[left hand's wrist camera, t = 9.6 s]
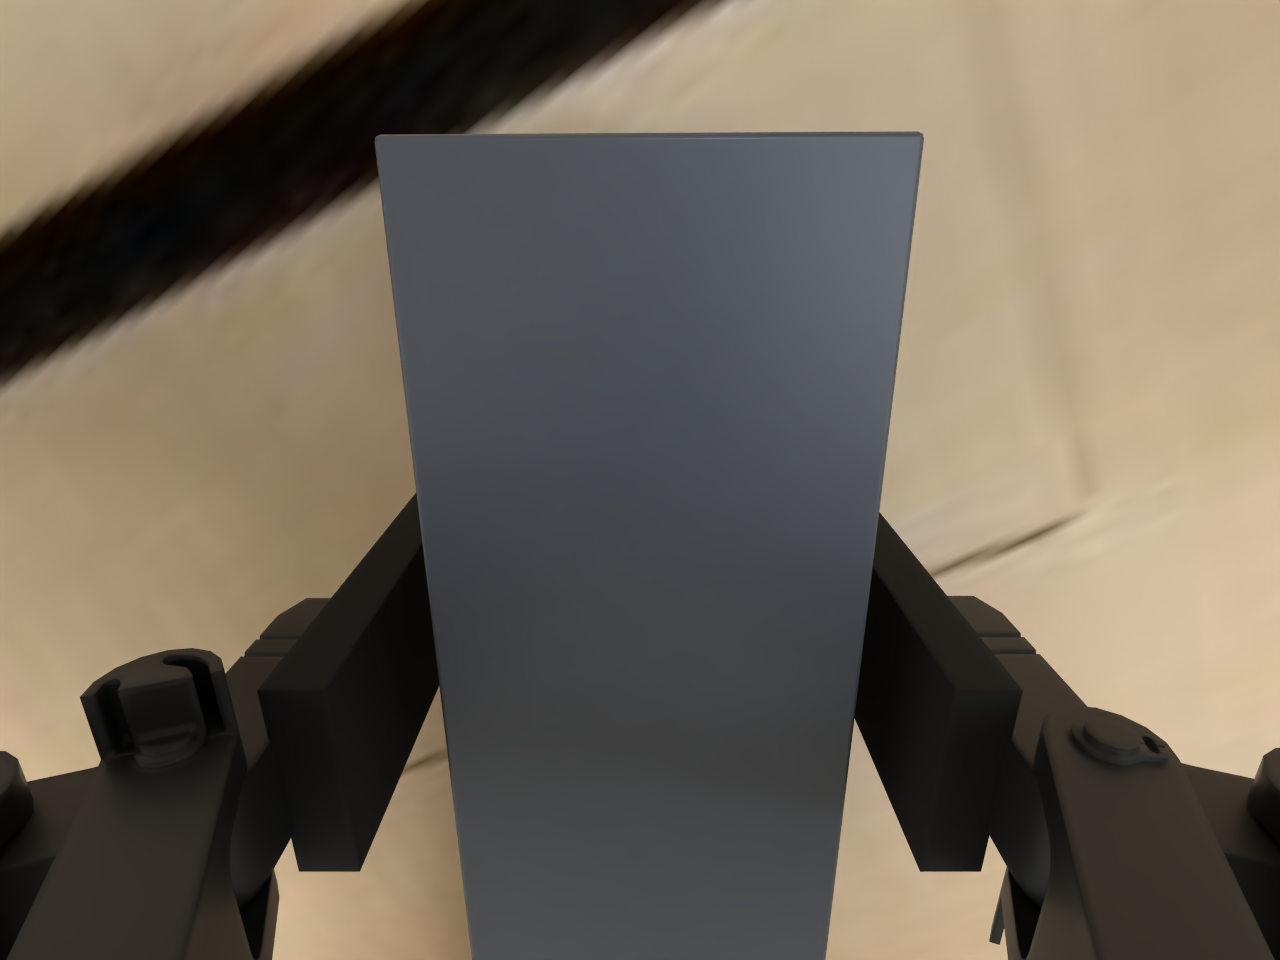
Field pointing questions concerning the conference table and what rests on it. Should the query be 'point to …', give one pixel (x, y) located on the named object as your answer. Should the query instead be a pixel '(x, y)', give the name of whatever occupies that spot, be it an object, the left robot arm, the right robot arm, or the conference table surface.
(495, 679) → the post
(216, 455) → the conference table surface
